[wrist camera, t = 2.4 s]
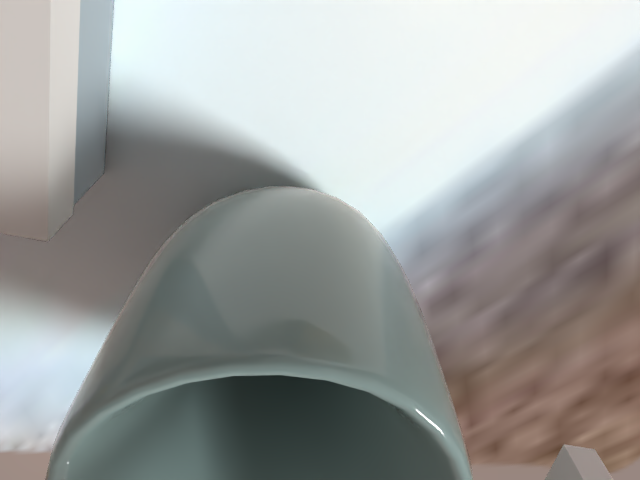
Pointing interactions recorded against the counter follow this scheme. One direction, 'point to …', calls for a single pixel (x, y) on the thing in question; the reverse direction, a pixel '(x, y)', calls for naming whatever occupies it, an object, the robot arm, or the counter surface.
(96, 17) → the grey drawer box
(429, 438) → the cup
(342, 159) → the counter surface
